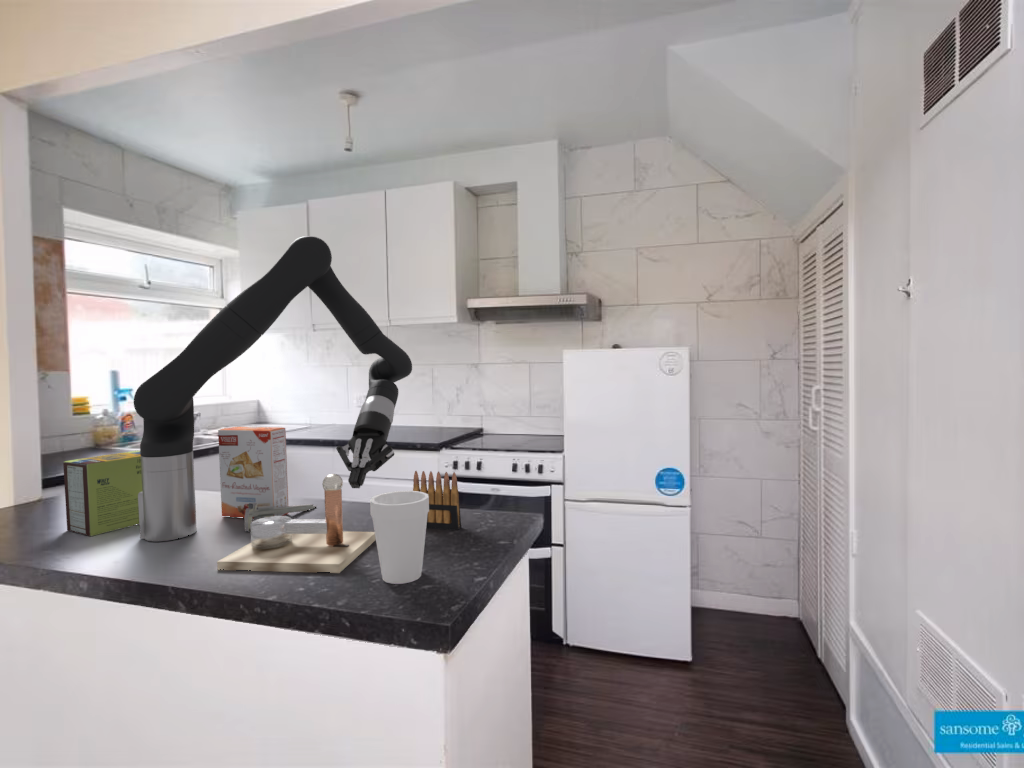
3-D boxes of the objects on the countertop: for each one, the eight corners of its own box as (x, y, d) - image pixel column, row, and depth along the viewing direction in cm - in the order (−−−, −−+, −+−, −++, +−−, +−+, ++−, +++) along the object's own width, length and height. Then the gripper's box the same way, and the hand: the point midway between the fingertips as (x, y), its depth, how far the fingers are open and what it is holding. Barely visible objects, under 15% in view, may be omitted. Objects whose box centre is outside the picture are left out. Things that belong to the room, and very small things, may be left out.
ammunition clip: (411, 526, 113) (409, 471, 113) (415, 524, 115) (413, 469, 115) (458, 530, 111) (456, 473, 110) (461, 527, 112) (460, 471, 112)
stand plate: (217, 570, 91) (217, 560, 91) (272, 537, 108) (272, 529, 108) (339, 573, 89) (339, 563, 89) (376, 539, 106) (376, 530, 106)
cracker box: (220, 518, 123) (216, 429, 122) (238, 511, 128) (235, 425, 128) (273, 521, 119) (269, 429, 119) (289, 514, 125) (286, 426, 125)
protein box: (166, 517, 125) (163, 452, 124) (89, 537, 111) (85, 464, 110) (141, 512, 130) (138, 449, 129) (65, 531, 116) (61, 460, 115)
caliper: (248, 534, 112) (247, 504, 111) (244, 533, 112) (243, 504, 112) (317, 508, 131) (316, 483, 130) (313, 508, 131) (312, 483, 131)
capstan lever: (243, 548, 96) (240, 478, 95) (263, 536, 103) (261, 470, 102) (337, 548, 95) (334, 478, 94) (351, 536, 102) (348, 470, 101)
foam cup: (432, 584, 83) (430, 502, 83) (371, 591, 81) (368, 507, 81) (428, 562, 93) (426, 489, 92) (374, 567, 91) (372, 492, 90)
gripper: (341, 409, 118) (317, 476, 106) (399, 409, 116) (380, 476, 105) (352, 430, 123) (330, 495, 112) (407, 430, 122) (390, 496, 110)
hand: (354, 486), depth 108 cm, fingers closed
